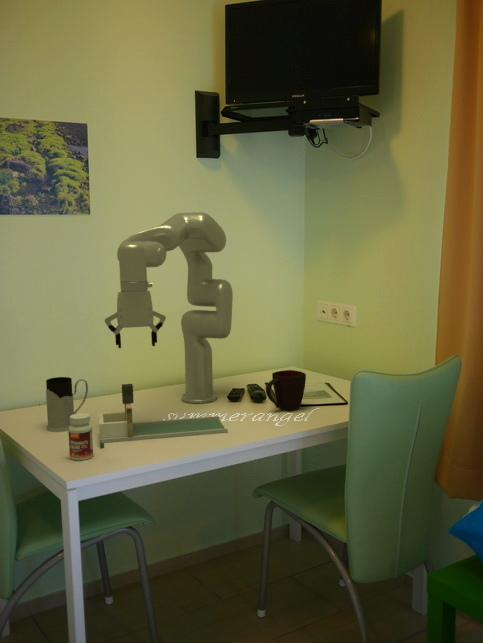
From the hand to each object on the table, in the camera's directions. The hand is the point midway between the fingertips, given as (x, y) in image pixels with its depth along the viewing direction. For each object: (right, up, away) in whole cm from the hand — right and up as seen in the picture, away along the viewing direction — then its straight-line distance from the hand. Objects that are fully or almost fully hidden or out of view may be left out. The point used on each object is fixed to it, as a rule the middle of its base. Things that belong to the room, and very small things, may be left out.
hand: (136, 346), depth 190 cm
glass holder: (-23, -25, +14) cm, 37 cm away
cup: (+44, -22, +28) cm, 57 cm away
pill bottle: (-13, -29, -14) cm, 35 cm away
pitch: (+7, -26, +3) cm, 27 cm away
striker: (-2, -25, +1) cm, 25 cm away
